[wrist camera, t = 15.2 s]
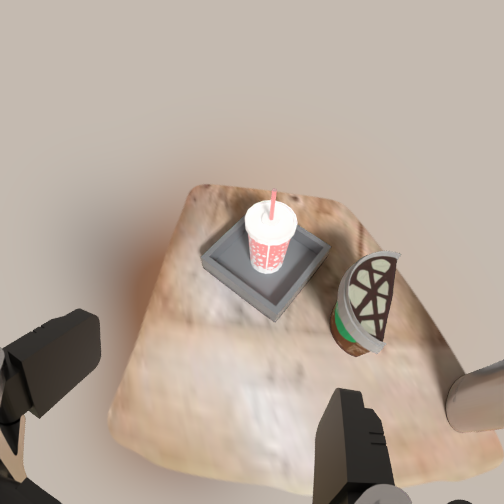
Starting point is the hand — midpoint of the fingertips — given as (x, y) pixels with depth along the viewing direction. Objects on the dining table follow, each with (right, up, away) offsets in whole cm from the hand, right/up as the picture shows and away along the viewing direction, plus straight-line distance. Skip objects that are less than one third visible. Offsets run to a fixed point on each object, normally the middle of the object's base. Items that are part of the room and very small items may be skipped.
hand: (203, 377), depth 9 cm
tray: (+4, +2, +34) cm, 34 cm away
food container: (+14, -5, +30) cm, 33 cm away
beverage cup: (+4, +3, +34) cm, 34 cm away
